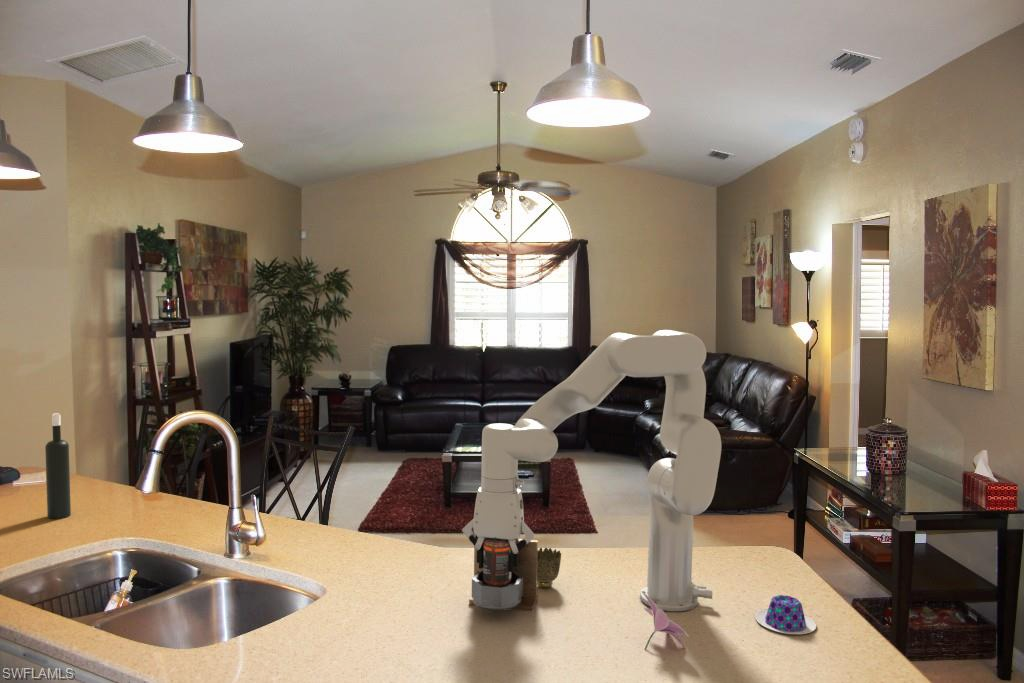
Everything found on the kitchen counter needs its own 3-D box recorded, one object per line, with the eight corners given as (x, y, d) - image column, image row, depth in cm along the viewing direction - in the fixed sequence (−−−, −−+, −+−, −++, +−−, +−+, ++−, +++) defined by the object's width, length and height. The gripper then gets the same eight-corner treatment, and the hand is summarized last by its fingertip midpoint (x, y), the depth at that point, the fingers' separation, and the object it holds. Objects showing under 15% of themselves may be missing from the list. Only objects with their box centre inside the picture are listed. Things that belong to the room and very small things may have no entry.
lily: (687, 671, 139) (706, 621, 141) (628, 643, 139) (648, 594, 142) (671, 660, 150) (689, 613, 153) (617, 634, 151) (635, 588, 153)
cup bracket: (537, 600, 166) (539, 538, 165) (524, 628, 152) (525, 561, 151) (476, 593, 169) (477, 532, 168) (458, 620, 155) (458, 554, 154)
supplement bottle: (517, 582, 158) (518, 529, 157) (497, 590, 154) (498, 536, 153) (496, 574, 162) (498, 522, 161) (476, 581, 158) (478, 528, 157)
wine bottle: (42, 518, 216) (39, 414, 213) (58, 512, 221) (54, 411, 219) (60, 519, 215) (57, 415, 212) (75, 513, 220) (72, 412, 218)
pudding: (743, 622, 158) (745, 598, 157) (773, 606, 166) (774, 583, 165) (798, 643, 149) (799, 618, 148) (826, 626, 157) (827, 601, 156)
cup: (558, 594, 169) (559, 560, 169) (525, 591, 171) (526, 557, 170) (562, 581, 177) (563, 548, 176) (531, 578, 178) (532, 545, 177)
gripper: (543, 482, 158) (541, 566, 160) (464, 476, 162) (463, 557, 163) (536, 492, 151) (534, 579, 152) (454, 485, 155) (452, 570, 156)
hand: (497, 567), depth 158 cm, fingers closed on supplement bottle, 6 cm apart
